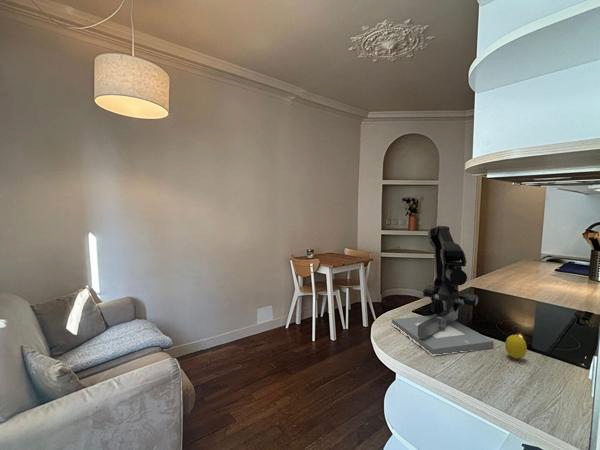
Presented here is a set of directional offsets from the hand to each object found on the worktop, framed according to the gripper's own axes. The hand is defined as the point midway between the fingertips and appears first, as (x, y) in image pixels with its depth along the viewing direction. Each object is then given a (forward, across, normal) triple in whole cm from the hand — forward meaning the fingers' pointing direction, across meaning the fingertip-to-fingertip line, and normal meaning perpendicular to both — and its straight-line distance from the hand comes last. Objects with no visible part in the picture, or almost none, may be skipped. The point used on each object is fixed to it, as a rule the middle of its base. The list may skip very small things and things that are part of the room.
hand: (448, 316), depth 118 cm
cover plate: (+4, -1, -12) cm, 12 cm away
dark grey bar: (0, -1, -12) cm, 12 cm away
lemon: (+4, +22, -12) cm, 26 cm away
